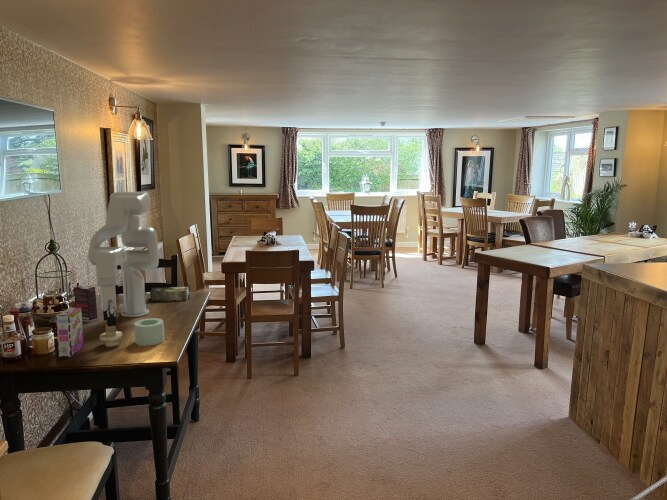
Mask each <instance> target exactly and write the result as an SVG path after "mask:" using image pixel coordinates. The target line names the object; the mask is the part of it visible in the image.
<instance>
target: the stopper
mask: <svg viewBox="0 0 667 500" xmlns="http://www.w3.org/2000/svg"><path fill="white" fill-rule="evenodd" d="M104 326H105V332H103V333H100V334H99V340H100V341H102V342H104V346H105V347H107V348H111V347H112V348H113V347H117V346H118V345H119V340H120V339H122V338H123V336H124V335H123V332H122V331H118V330H117V327H116V326H117V325H116V326H112V327H108V326H107V323H106V324H104Z"/></svg>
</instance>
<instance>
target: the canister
mask: <svg viewBox="0 0 667 500" xmlns="http://www.w3.org/2000/svg"><path fill="white" fill-rule="evenodd" d="M164 324H165V323H164V320H163V319H162V318H156V317H155V318H154V317H153V318H152V317H151V318H150V317H149V318H142V319H139V320H137V321H135V322H134V323H133V325H134V326H133V327H134V329H133V330H134V342H135V345H137V346H142V347H148V346H149V347H150V346H156V345H159V344H162V343H163V342H164V341H165V326H164Z"/></svg>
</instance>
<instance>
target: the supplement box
mask: <svg viewBox="0 0 667 500" xmlns="http://www.w3.org/2000/svg"><path fill="white" fill-rule="evenodd" d="M73 297H74V308H76V307H77V308H81V309H82V322H86V323H92V322H94V321H97V320H98V309H97V307H98V306H97V296H96V287H95V286H90V285H89V286H88V285H78V286H74V287H73Z"/></svg>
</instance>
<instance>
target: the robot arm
mask: <svg viewBox="0 0 667 500" xmlns="http://www.w3.org/2000/svg"><path fill="white" fill-rule="evenodd" d="M151 203H152V200H151V196H150V195H149V193H148V192H146V191H145V192H144V191H116V192H113V193H111V194H110V196H109V202H108V208H107V211H106V212H107V213H106V219H105V224H104V225H103V226H102V227H100V228H99V229H98V230H97V231H96V232H94V234H93V235H92V237H91V238H90V241H89V245H88V252H87V258H88V261H89V264H91V265H92V266H95V274H96V286H97V287H99V307H100V310H102V315H103V321H106V324H107V326H108V327H112V326H117V316H116V310H117V295H116V293H117V292H116V286H118V285H119V281H118V280H119V279H118V277H119V275H118V266H120V269H121V274H122V287H123V288H122V290H123V291H122V292H123V303H120V304H119V305H118V309H120V310H122V311H121V313H120V314H121V316H122V317H125V318H139V317H143V316H146V315H148V314H150V310H149V308H146V290H145V278H144V276H143V274H142V272H141V271H140V270H155V269H157V268H158V266H159V262H160V261H159V260H160V259H159V242H158V234H157V231H156V229H155V228H153V227H150V226H149V227H148V226H141V225H140V224H141V223H140V221H141V220H140V216H142V215H144V214H145V213H146V212H147V211H148V210H149V209H150V207H151ZM116 236H121V244H122V245H123V246H124V247H126V248H146V249H127V250H126V249H125V248H124V247H121V246H101V245H102V244H103V243H104V242H105V241H107V240H110V239H112V238H115V237H116Z"/></svg>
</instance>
